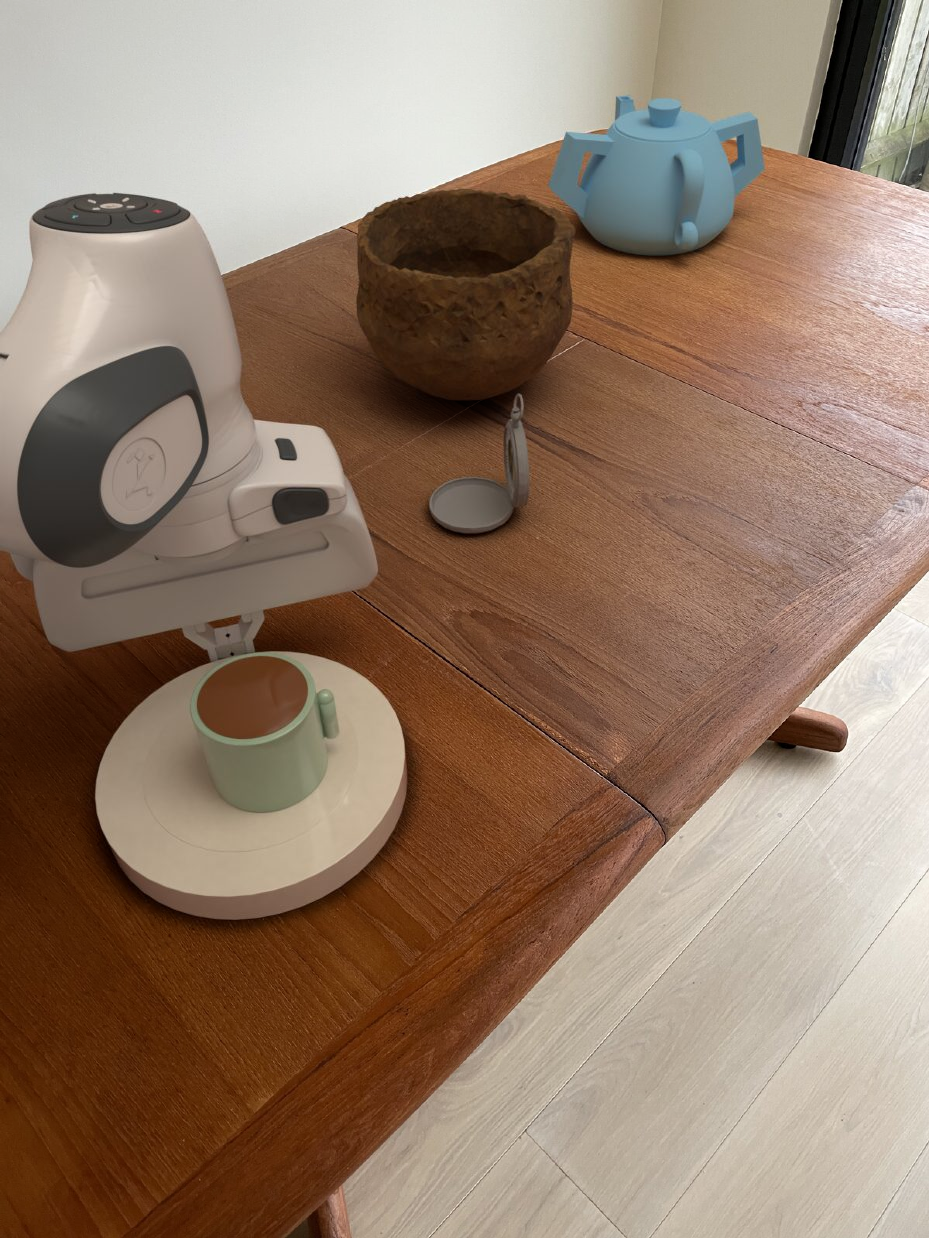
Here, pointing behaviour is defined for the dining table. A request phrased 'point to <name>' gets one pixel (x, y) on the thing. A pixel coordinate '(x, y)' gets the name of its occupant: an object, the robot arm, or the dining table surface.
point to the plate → (242, 840)
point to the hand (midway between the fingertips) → (233, 654)
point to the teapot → (657, 177)
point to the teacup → (263, 730)
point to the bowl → (464, 289)
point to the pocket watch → (487, 488)
